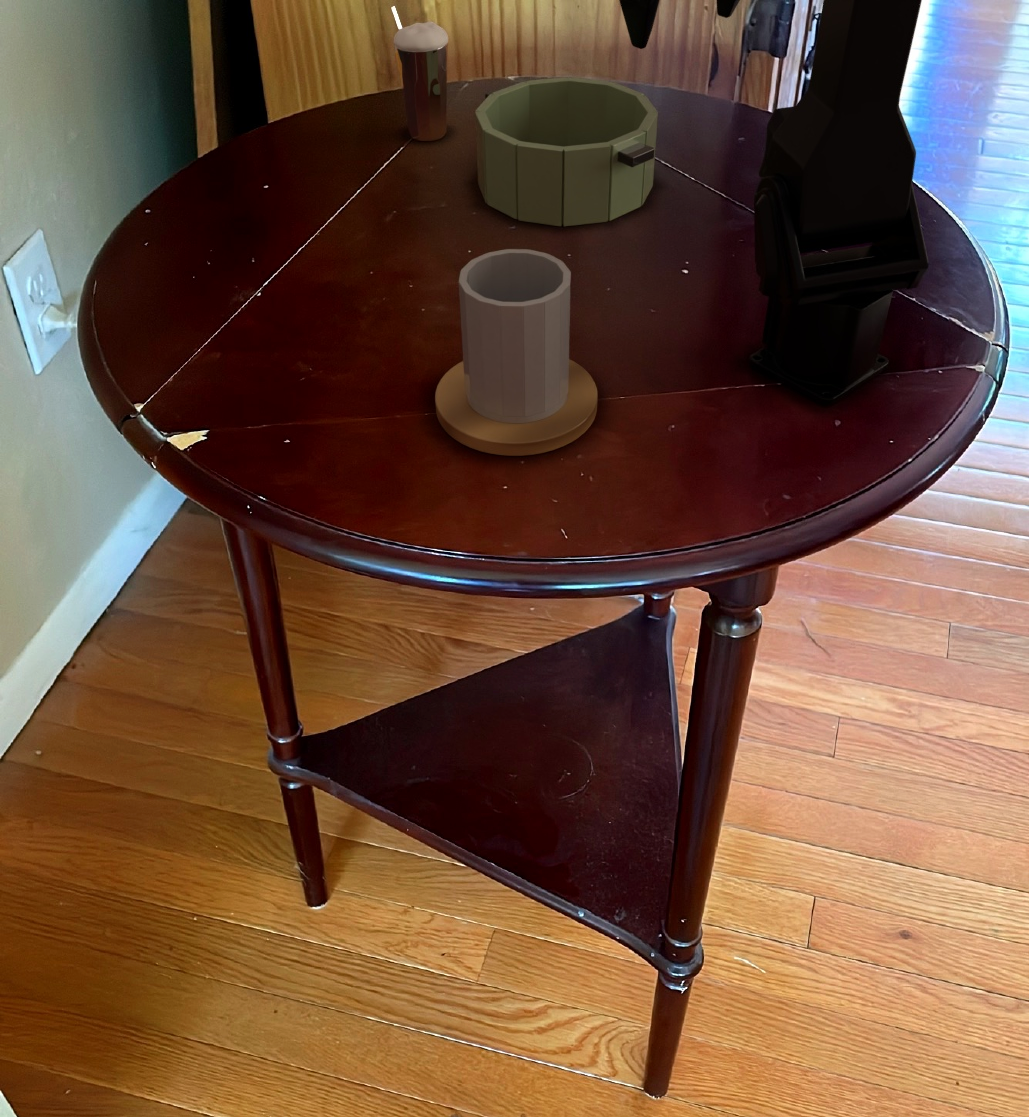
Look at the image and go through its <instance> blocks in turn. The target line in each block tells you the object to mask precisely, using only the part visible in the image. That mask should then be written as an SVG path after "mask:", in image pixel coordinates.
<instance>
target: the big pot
mask: <svg viewBox="0 0 1029 1117" xmlns="http://www.w3.org/2000/svg"><path fill="white" fill-rule="evenodd" d="M474 118H475V142H476V161H477V162H476V166H477V185H478V187H479V190H480V193H481V195H482V198H483V200H484V203H485V204H487V206H489V207H491V208H493V209H495V210H497V211H499V212H501V213H502V214H504V215H506V216H508V217H510V218H511V219H514V220H518V221H520V222H527V223H534V224H540V225H548V226H554V227H562V226H563V227H572V226H582V225H590V224H591V225H592V224H599V223H600V224H601V223H607V222H608V221H609V222H611V221H613V220H615V219H617V218H619V217H621V216H623V215H626V214H628V213H630V212H632V211H635V210H637V209H639V208H641V207H642V206H643V205H644V203H645V202H646V200H647V198H648V196H649V195H650V192H651V190H652V188H653V186H654V174H655V161H656V147H657V133H658V132H657V131H658V118H659V111H658V110H657V109H656V108H655V106H654V104H653V103H652V102H651V101H650V99H649V98H648V97H647V95H646V94H644V93H642V92H640V91H637V90H634V89H632V88H629V87H627V86H624V85H622V84H620V83H617V82H614V81H611V80H602V79H593V78H592V79H591V78H585V77H584V78H582V77H573V76H569V77H568V76H563V77H553V78H543V79H542V78H541V79H532V80H526V81H521V82H518V83H515V84H512V85H510V86H509V85H504V86H503V87H502V86H501V87H499V88H496V89H494V90H490V91H488V92H485V93H484V100H483V102H481V103H480V105H479V106H478V107H477V108H476V109H475V112H474Z"/></svg>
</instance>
